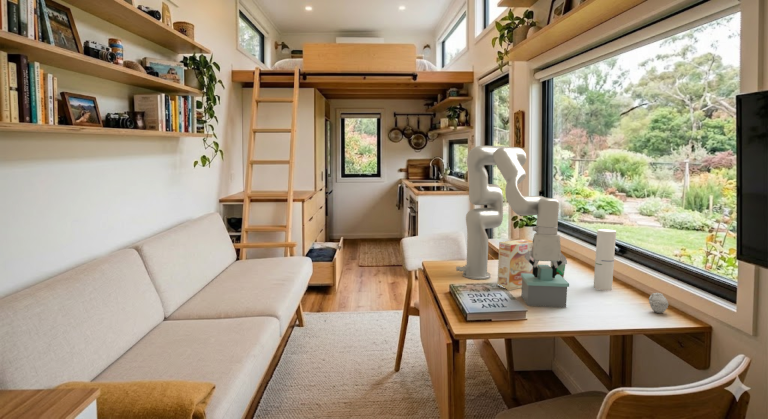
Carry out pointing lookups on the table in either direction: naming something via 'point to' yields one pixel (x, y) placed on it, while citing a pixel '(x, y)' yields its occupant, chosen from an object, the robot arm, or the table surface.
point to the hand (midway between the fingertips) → (544, 276)
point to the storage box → (544, 295)
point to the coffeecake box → (513, 263)
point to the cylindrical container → (604, 259)
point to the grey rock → (658, 302)
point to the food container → (561, 268)
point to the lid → (544, 278)
